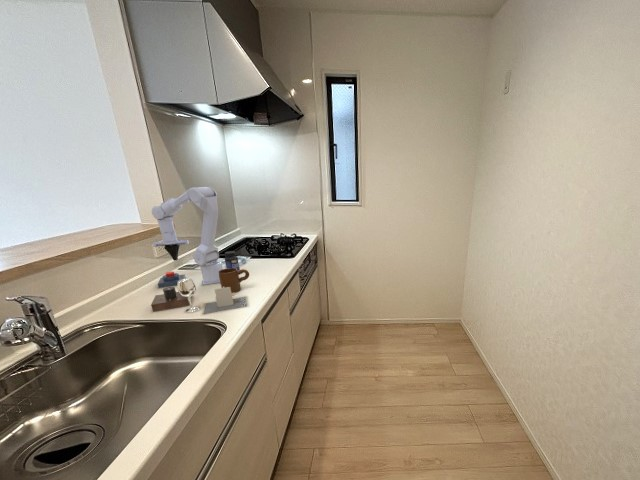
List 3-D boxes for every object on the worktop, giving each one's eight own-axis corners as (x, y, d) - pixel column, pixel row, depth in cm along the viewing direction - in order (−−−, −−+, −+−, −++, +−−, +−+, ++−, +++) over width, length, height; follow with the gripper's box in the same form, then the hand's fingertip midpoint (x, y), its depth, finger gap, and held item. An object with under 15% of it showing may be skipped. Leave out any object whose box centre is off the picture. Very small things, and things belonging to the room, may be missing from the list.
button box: (185, 278, 156) (183, 270, 155) (184, 284, 148) (181, 276, 146) (161, 281, 152) (159, 274, 150) (158, 288, 143) (156, 280, 142)
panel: (191, 296, 133) (189, 289, 132) (189, 305, 124) (187, 298, 123) (157, 302, 128) (155, 294, 127) (153, 311, 119) (150, 304, 118)
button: (175, 274, 151) (174, 271, 150) (174, 276, 148) (173, 272, 147) (166, 275, 149) (165, 272, 149) (165, 277, 146) (164, 274, 146)
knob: (166, 296, 126) (163, 287, 124) (177, 294, 127) (175, 285, 126) (164, 299, 123) (161, 290, 121) (176, 297, 124) (173, 288, 123)
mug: (252, 285, 145) (248, 266, 142) (251, 290, 138) (247, 270, 135) (223, 289, 141) (219, 269, 138) (221, 294, 134) (216, 274, 131)
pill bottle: (235, 274, 160) (231, 253, 156) (224, 274, 161) (220, 253, 157) (242, 271, 166) (238, 250, 162) (232, 270, 167) (228, 250, 163)
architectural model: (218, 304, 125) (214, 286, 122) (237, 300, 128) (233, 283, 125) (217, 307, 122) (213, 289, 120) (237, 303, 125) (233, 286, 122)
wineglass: (188, 307, 123) (180, 278, 118) (203, 306, 123) (196, 277, 119) (180, 313, 117) (172, 283, 113) (196, 312, 118) (188, 282, 113)
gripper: (146, 234, 141) (155, 263, 146) (183, 232, 145) (190, 260, 150) (152, 232, 147) (160, 259, 152) (187, 229, 151) (194, 257, 156)
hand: (175, 259), depth 152 cm, fingers closed
